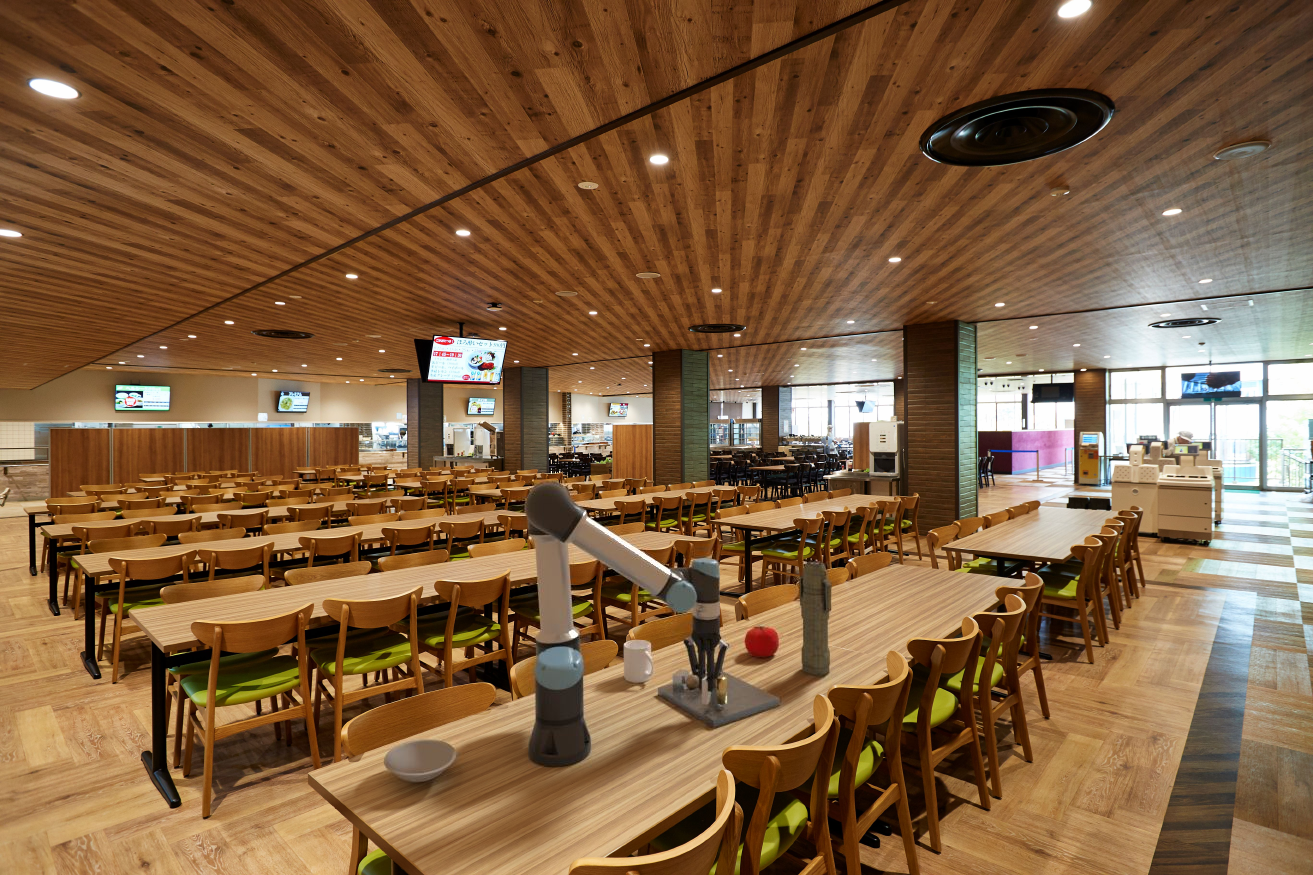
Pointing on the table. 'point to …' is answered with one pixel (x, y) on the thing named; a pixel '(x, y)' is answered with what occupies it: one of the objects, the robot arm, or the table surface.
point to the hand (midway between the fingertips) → (706, 702)
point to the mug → (637, 661)
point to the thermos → (815, 618)
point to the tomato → (761, 641)
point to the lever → (720, 688)
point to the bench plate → (739, 700)
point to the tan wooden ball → (692, 681)
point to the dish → (420, 759)
